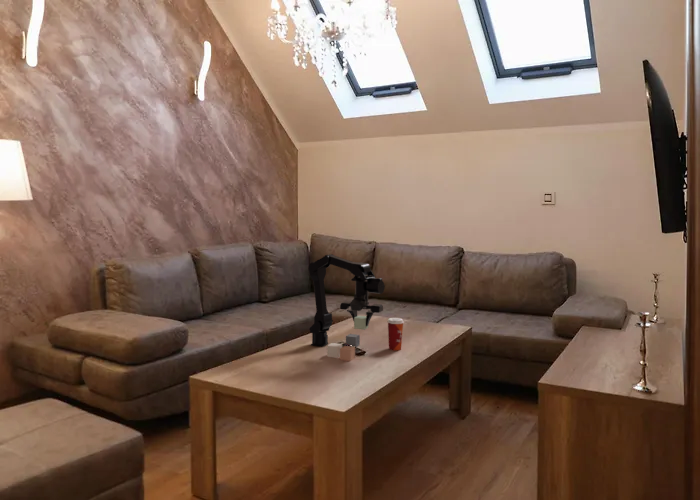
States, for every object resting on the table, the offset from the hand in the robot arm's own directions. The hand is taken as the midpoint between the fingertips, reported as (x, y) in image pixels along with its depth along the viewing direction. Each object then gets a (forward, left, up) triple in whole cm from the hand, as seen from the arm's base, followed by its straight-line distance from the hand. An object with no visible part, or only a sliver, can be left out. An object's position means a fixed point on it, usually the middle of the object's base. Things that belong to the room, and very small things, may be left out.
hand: (361, 325), depth 254 cm
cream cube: (-9, -9, -13) cm, 18 cm away
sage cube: (0, 0, -1) cm, 1 cm away
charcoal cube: (-8, +10, -13) cm, 18 cm away
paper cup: (+12, +13, -13) cm, 22 cm away
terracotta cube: (-2, -11, -13) cm, 17 cm away
